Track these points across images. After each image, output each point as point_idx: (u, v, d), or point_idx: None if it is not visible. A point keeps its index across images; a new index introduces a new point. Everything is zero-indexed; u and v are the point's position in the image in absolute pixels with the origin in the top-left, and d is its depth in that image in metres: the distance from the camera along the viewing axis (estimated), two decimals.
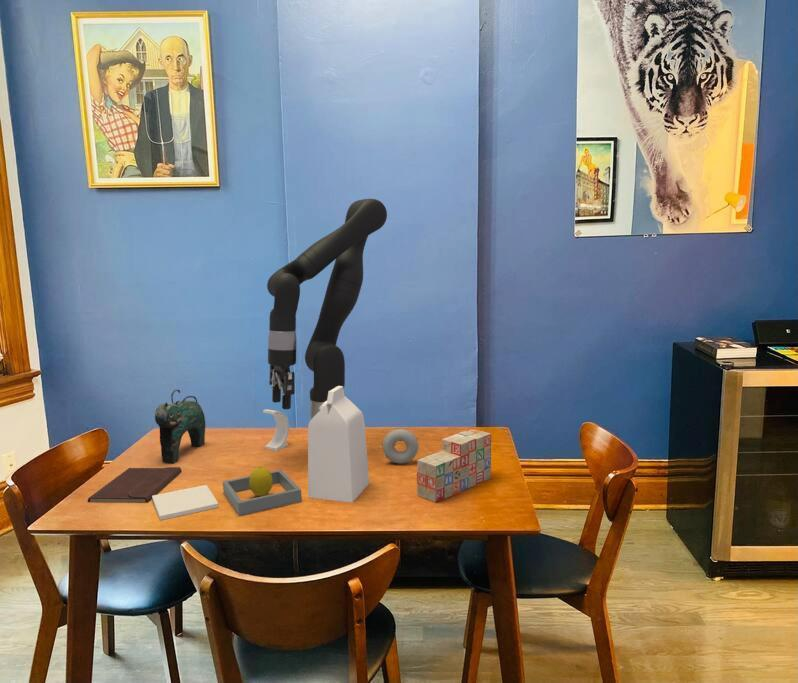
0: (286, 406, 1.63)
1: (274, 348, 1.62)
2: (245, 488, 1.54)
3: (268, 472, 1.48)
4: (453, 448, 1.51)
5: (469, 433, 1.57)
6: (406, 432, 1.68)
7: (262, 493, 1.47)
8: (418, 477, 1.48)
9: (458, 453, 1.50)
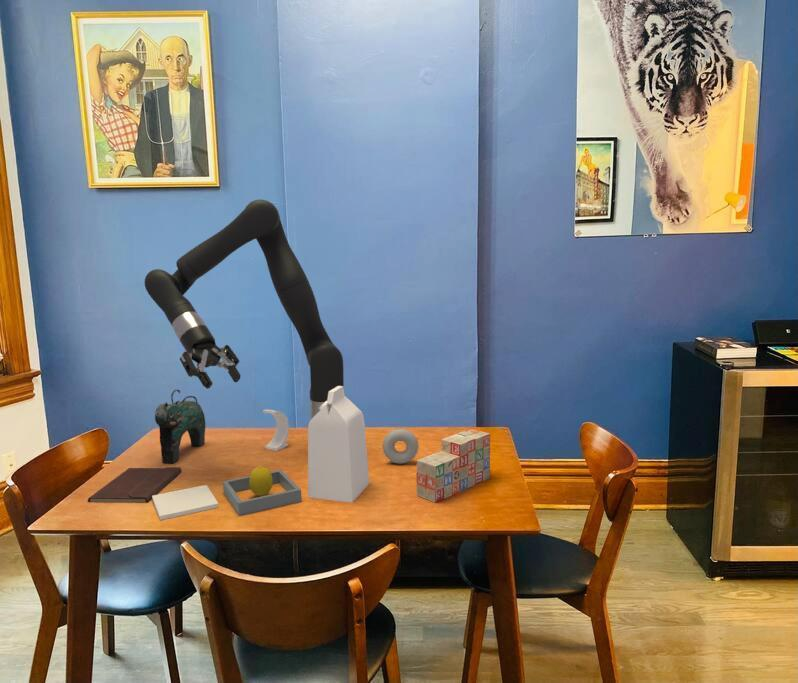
0: (204, 385, 1.48)
1: None
2: (245, 488, 1.54)
3: (268, 472, 1.48)
4: (452, 448, 1.51)
5: (468, 433, 1.57)
6: (406, 432, 1.68)
7: (262, 493, 1.47)
8: (417, 477, 1.47)
9: (457, 453, 1.50)
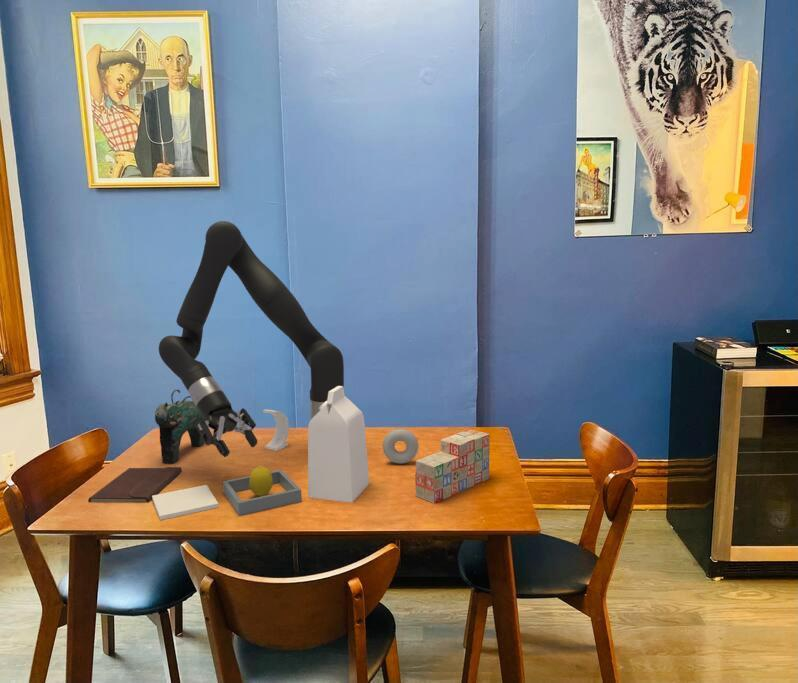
0: (221, 453, 1.48)
1: None
2: (245, 488, 1.54)
3: (268, 472, 1.48)
4: (452, 449, 1.50)
5: (467, 434, 1.56)
6: (406, 432, 1.68)
7: (262, 493, 1.47)
8: (416, 478, 1.47)
9: (456, 454, 1.49)
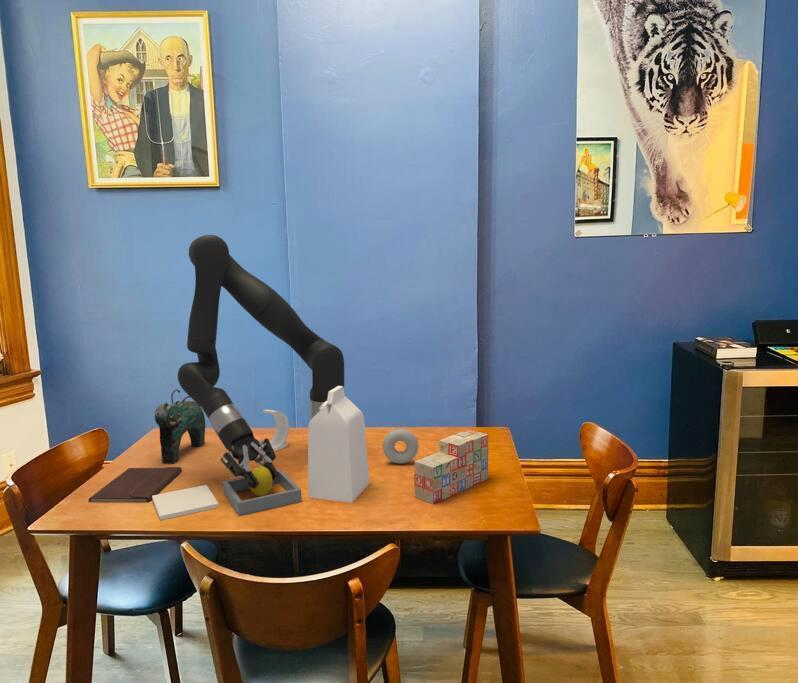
0: (250, 485, 1.45)
1: None
2: (245, 488, 1.54)
3: (268, 472, 1.48)
4: (450, 449, 1.50)
5: (466, 434, 1.56)
6: (406, 432, 1.68)
7: (262, 493, 1.47)
8: (415, 478, 1.47)
9: (455, 454, 1.49)
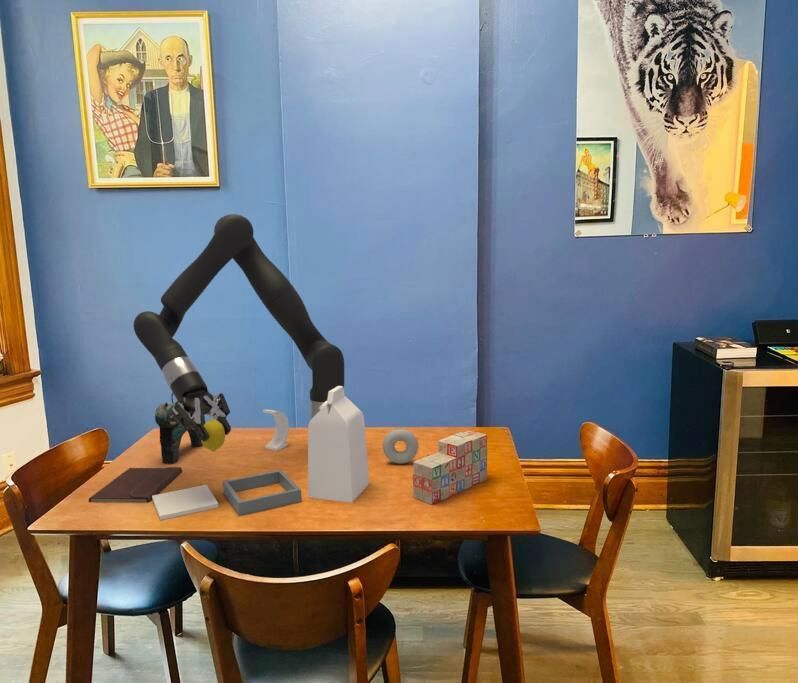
0: (200, 437, 1.41)
1: None
2: (245, 488, 1.54)
3: (220, 426, 1.44)
4: (449, 450, 1.50)
5: (465, 434, 1.56)
6: (406, 432, 1.68)
7: (213, 447, 1.43)
8: (414, 479, 1.46)
9: (454, 455, 1.49)
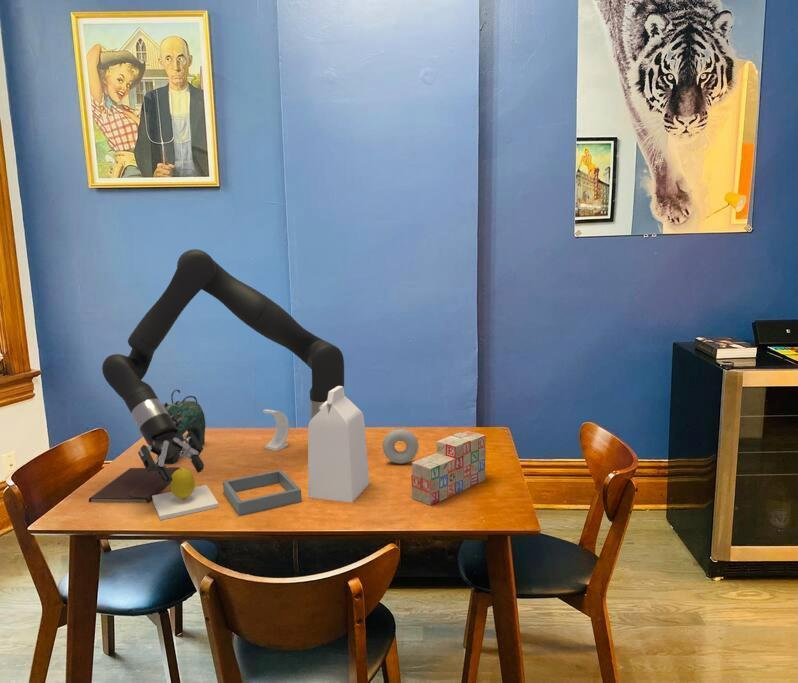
0: (163, 480, 1.41)
1: None
2: (245, 488, 1.54)
3: (189, 474, 1.45)
4: (448, 450, 1.49)
5: (463, 435, 1.55)
6: (406, 432, 1.68)
7: (183, 495, 1.44)
8: (412, 480, 1.46)
9: (453, 455, 1.48)
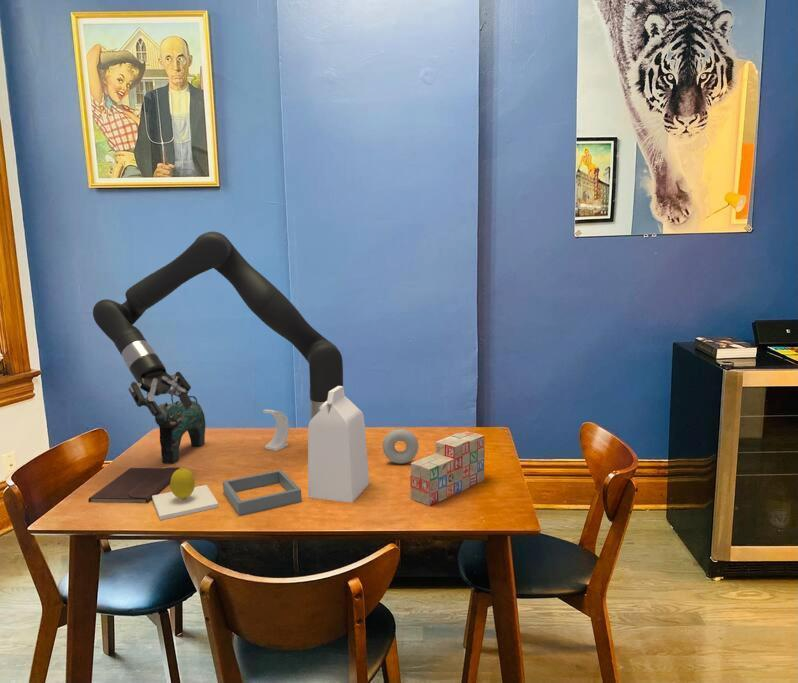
0: (153, 414, 1.48)
1: None
2: (245, 488, 1.54)
3: (189, 474, 1.45)
4: (447, 451, 1.49)
5: (462, 435, 1.55)
6: (406, 432, 1.68)
7: (183, 495, 1.44)
8: (411, 480, 1.46)
9: (452, 456, 1.48)
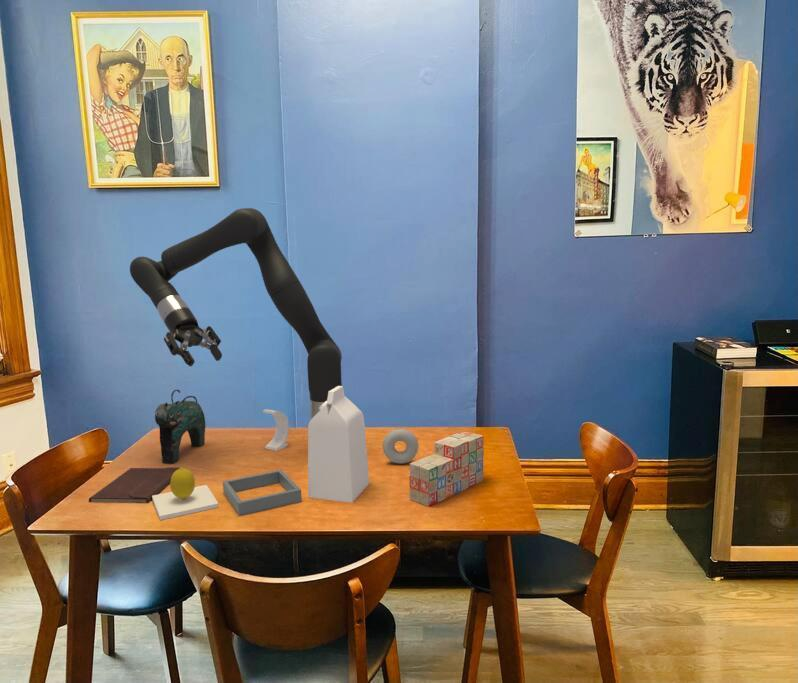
0: (187, 362, 1.57)
1: None
2: (245, 488, 1.54)
3: (190, 474, 1.45)
4: (446, 451, 1.49)
5: (461, 435, 1.55)
6: (406, 432, 1.68)
7: (183, 495, 1.44)
8: (410, 481, 1.45)
9: (451, 456, 1.48)
